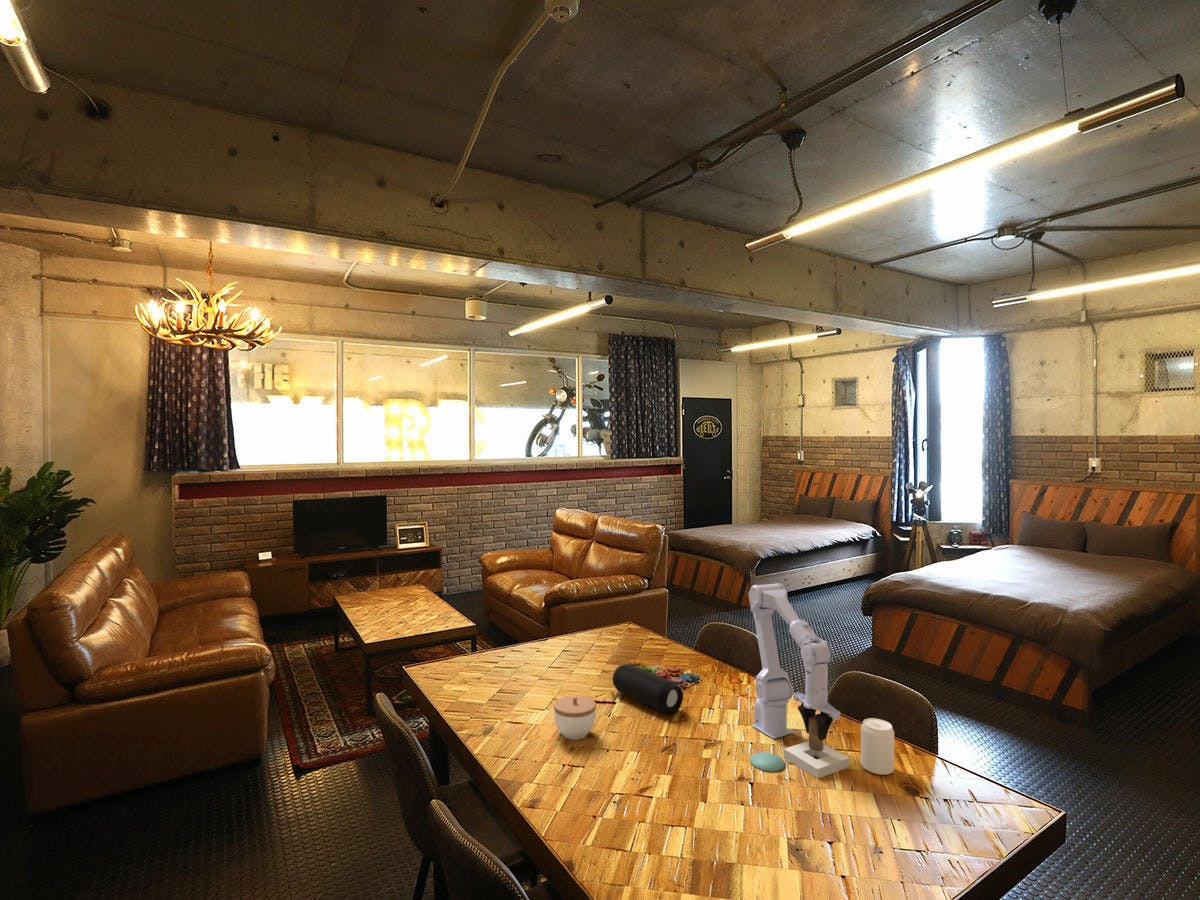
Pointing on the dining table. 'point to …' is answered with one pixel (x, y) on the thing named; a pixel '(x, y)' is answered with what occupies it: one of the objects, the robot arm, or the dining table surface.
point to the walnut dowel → (814, 735)
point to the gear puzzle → (668, 673)
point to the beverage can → (877, 746)
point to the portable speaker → (648, 688)
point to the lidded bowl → (574, 716)
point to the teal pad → (767, 762)
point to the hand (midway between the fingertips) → (816, 735)
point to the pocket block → (820, 767)
